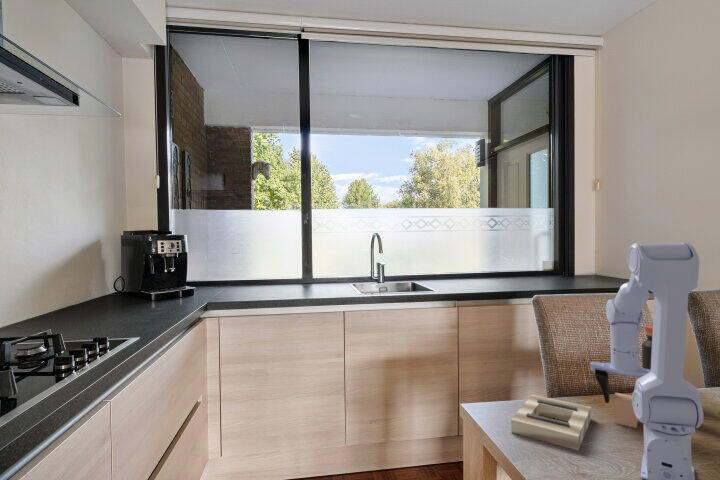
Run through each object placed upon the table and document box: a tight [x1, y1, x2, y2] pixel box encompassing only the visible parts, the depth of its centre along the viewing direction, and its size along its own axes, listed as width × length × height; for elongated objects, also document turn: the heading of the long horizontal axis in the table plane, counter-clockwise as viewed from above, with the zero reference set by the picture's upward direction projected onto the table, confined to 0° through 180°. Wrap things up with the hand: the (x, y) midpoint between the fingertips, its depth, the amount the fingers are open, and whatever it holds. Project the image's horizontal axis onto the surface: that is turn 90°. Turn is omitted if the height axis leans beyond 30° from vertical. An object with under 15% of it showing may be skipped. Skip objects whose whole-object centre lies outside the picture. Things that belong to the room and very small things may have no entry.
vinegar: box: [641, 325, 653, 370], centre depth 109 cm, size 7×7×20 cm
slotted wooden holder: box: [510, 394, 592, 451], centre depth 96 cm, size 18×14×4 cm
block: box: [613, 392, 639, 429], centre depth 97 cm, size 4×4×6 cm
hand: (625, 405), depth 97 cm, fingers open, 7 cm apart
